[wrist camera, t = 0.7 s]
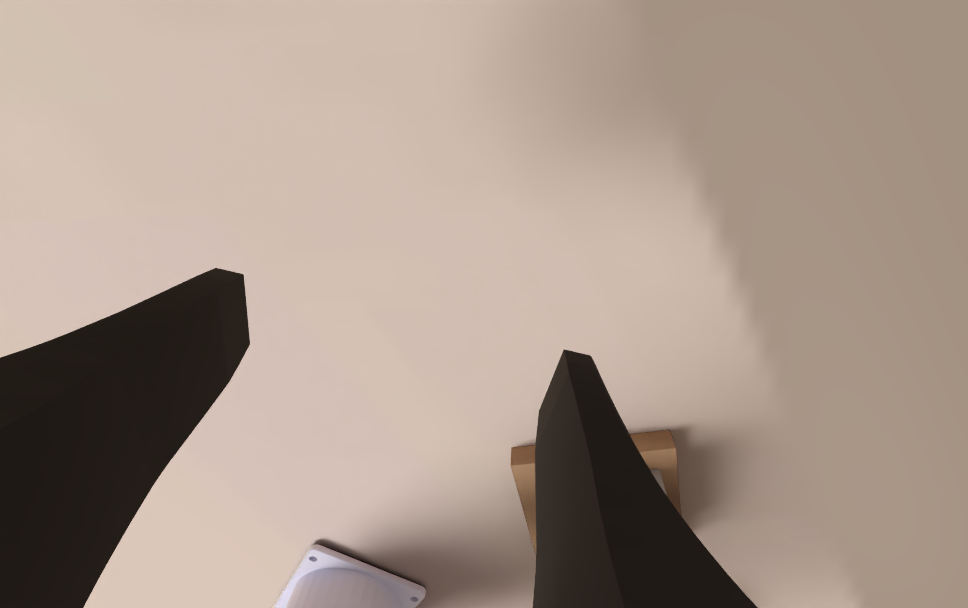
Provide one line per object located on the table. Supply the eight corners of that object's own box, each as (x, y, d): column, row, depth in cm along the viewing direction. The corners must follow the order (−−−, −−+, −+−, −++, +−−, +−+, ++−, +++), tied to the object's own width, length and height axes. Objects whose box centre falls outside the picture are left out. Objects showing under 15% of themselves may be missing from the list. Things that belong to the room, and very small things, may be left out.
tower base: (674, 523, 30) (683, 555, 28) (538, 535, 31) (539, 565, 29) (666, 419, 26) (675, 448, 24) (511, 437, 27) (510, 465, 26)
